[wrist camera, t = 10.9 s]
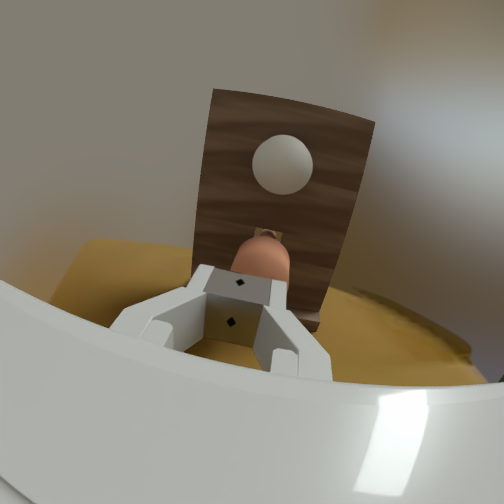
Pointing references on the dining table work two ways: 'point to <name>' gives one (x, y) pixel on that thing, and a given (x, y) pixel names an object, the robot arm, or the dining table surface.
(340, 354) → the dining table surface
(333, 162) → the plug panel
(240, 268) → the terracotta plug
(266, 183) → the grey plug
